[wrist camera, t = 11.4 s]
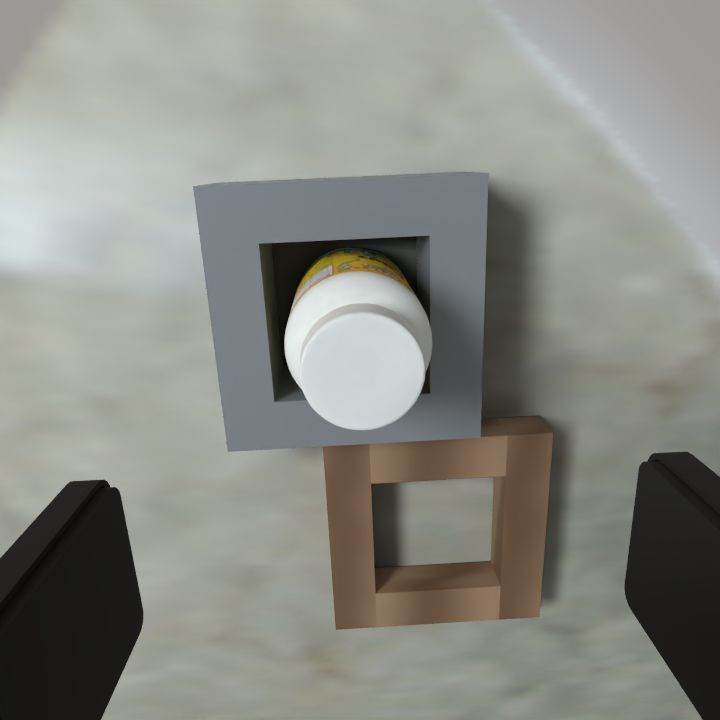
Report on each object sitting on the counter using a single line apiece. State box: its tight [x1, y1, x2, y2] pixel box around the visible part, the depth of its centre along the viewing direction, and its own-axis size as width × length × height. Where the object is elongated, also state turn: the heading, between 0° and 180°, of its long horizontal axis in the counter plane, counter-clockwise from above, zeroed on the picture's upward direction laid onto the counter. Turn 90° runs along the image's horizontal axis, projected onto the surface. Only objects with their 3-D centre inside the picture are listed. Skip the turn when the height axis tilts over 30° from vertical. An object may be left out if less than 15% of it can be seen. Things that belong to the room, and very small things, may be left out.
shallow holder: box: [323, 416, 553, 630], centre depth 30 cm, size 11×11×2 cm
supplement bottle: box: [284, 248, 432, 430], centre depth 22 cm, size 5×5×10 cm
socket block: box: [193, 172, 489, 452], centre depth 25 cm, size 11×11×4 cm
